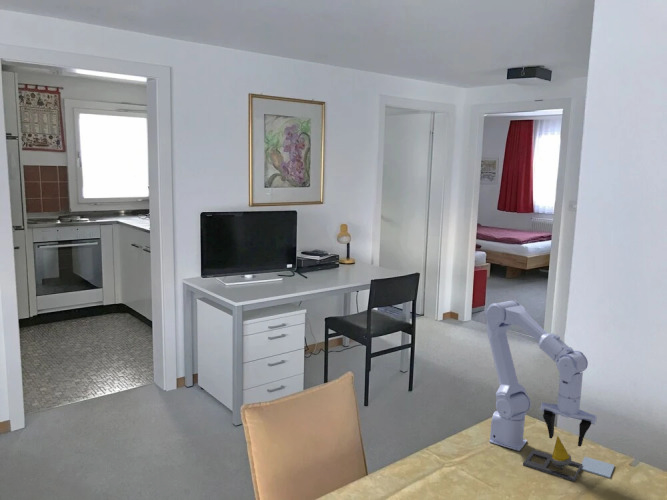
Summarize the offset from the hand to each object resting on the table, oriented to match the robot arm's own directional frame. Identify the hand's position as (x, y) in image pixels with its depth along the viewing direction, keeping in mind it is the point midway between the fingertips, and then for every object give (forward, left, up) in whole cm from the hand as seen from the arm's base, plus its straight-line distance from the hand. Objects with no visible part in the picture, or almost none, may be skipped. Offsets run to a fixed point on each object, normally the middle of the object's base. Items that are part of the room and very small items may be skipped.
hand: (565, 440), depth 157 cm
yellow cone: (0, 0, -9) cm, 9 cm away
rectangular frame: (-3, 0, -9) cm, 9 cm away
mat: (+8, +7, -9) cm, 14 cm away
